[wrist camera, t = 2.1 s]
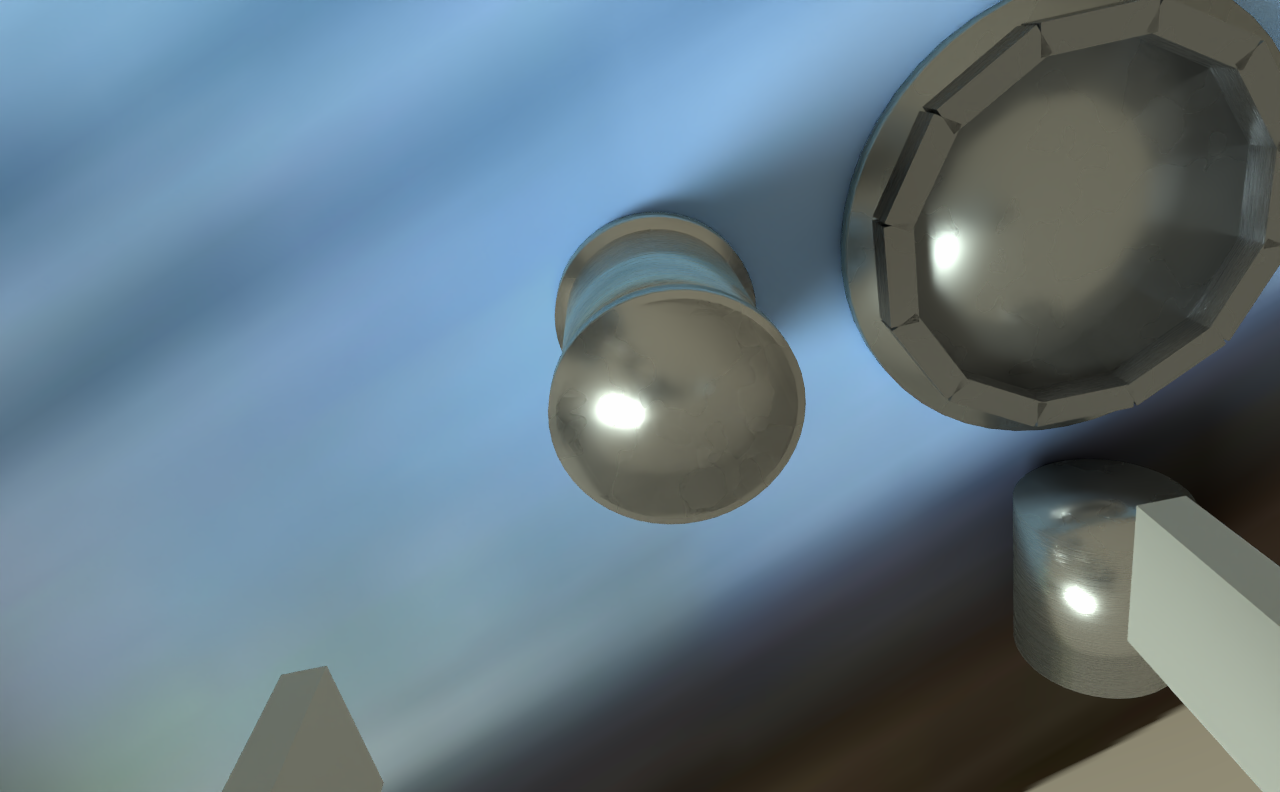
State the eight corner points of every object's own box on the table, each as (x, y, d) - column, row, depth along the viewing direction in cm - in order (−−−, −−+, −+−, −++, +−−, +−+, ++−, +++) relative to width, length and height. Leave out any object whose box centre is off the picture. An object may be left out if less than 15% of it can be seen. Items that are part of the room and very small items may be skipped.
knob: (534, 235, 27) (508, 316, 19) (735, 191, 27) (795, 255, 19) (581, 415, 30) (576, 552, 22) (763, 377, 30) (826, 501, 22)
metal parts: (817, 33, 25) (882, 29, 20) (1317, -80, 25) (1533, -117, 19) (877, 626, 35) (931, 736, 30) (1230, 556, 35) (1353, 655, 29)
